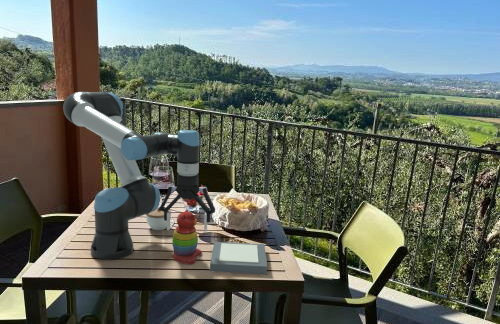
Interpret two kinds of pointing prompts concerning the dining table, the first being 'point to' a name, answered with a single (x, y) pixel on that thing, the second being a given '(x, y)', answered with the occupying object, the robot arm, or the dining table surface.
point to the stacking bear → (185, 239)
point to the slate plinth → (238, 258)
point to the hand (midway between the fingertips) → (187, 229)
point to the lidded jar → (157, 219)
